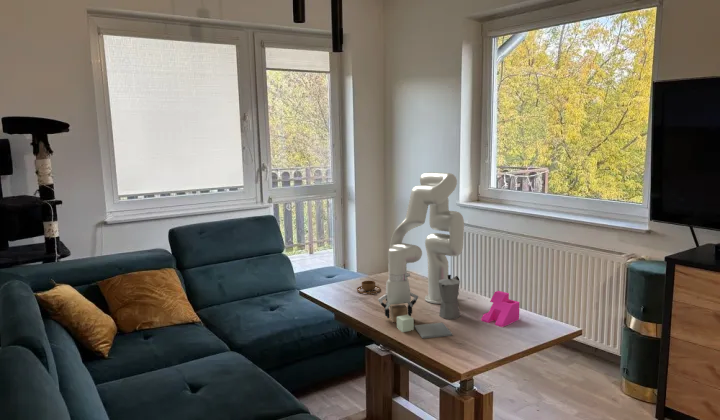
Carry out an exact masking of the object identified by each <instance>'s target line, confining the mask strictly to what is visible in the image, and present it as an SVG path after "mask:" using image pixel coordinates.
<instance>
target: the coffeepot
mask: <svg viewBox="0 0 720 420" xmlns="http://www.w3.org/2000/svg"><path fill="white" fill-rule="evenodd" d="M447 276H448V279H442V280H439V288H440V294H441V297H442V300H441V304H440V308H439V315H438V316H439V317H440V318H441V319H442V318H443V319H445V320H454V319H458V318H460V316H461V312H460V305H459V301H458V296H459V295H458V292H459V291H460V284H461V283H460V282H461V280H460V278H459V276H458V275H456V276H453V277H452V275H451V274H448V275H447ZM459 293H460V292H459Z"/></svg>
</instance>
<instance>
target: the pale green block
mask: <svg viewBox="0 0 720 420" xmlns="http://www.w3.org/2000/svg"><path fill="white" fill-rule="evenodd" d="M414 319H415V318H414V317H413V316H412V315H411V316H409V315H408V314H407V315H402V316H397V322H396V329H397V328H398V329H397V330H399V331H400V332H401V333H406V332H407V333H408V332H411V330H412V331H414V329H415V328H414V325H415V323H414Z"/></svg>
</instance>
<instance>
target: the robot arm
mask: <svg viewBox="0 0 720 420" xmlns="http://www.w3.org/2000/svg"><path fill="white" fill-rule="evenodd" d="M457 182H458V180H457V176H455V174H454V173H450V172H434V171H433V172H432V171H429V172H424V173H421V175H420V177H419V183H420V184H419V185H415V186H413V187H412V188H411V191H410V196H409V200H408V204H407V210H406V215H405V218H404V220H403V221H402V222H400V223H399V224H398V225H397V227H396V228H395V229H394V231H393V233H392V234H391V235H392V236H391V239H390V243H389V248H388V253H387V256H388V257H387V258H388V279H386V282H385V294H383V295H381V296H380V297H379V298H377V300H378V302H379V304H380V305H381V307H383V308H384V316H385V317H386V318H387V319H390V305H391V304H403V303H404V304H407V315H409V316H411V317H412V314H413V307H414V305H416V303H417V300H418V299H419V296H418V295H417V294H416V293H413V292H411V286H410V283H409V279H408V278H409V277H411V273H409V272H408V270H407V265H408V264H412V263H418V262H419V261H420V260H421V258H422V256H423V251H422V248H421V247H420V246H419V245H416V244H412V243H411V244H410V243H404V242H403V240H404V238H405V236H406V234H408V233H409V232H410V231H411V230H414V229H415V228H418V227H421V226H423V225H424V224H425V222H426V217H427V213H428V208H429V227H430V228H431V229H432V230H435V231H439V233H438V232H432V233H429V234H428V235H427V236H426V238H425V241H424V243H425V245H424V246H425V250H426V256H427V257H426V258H427V293H428V294H426V295H425V296H424V301H426V302H428V303H430V304H435V305H436V304H437V305H438V304H439V305H441V300H442V297H441V294H440V288H439V280H442V279H448V276H447V275H449V267H450V266H449V261H448V258H447V256H448V257H459V256H460V255H461V253H462V252H463V249H464V234H465V233H464V231H465V220H464V217H463V214H462V213H461V212H459V211H456V210H455V211H454V210H450V209H449V201H450V200H449V196H451V195H452V193H454V191H455V190H456V187H457V185H458V183H457ZM440 231H441V232H448V233H449V234H445V233H440ZM459 295H460V292H458V296H459ZM411 297H413V298H412V299H411ZM384 300H385V301H386V302H385V303H384Z"/></svg>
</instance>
